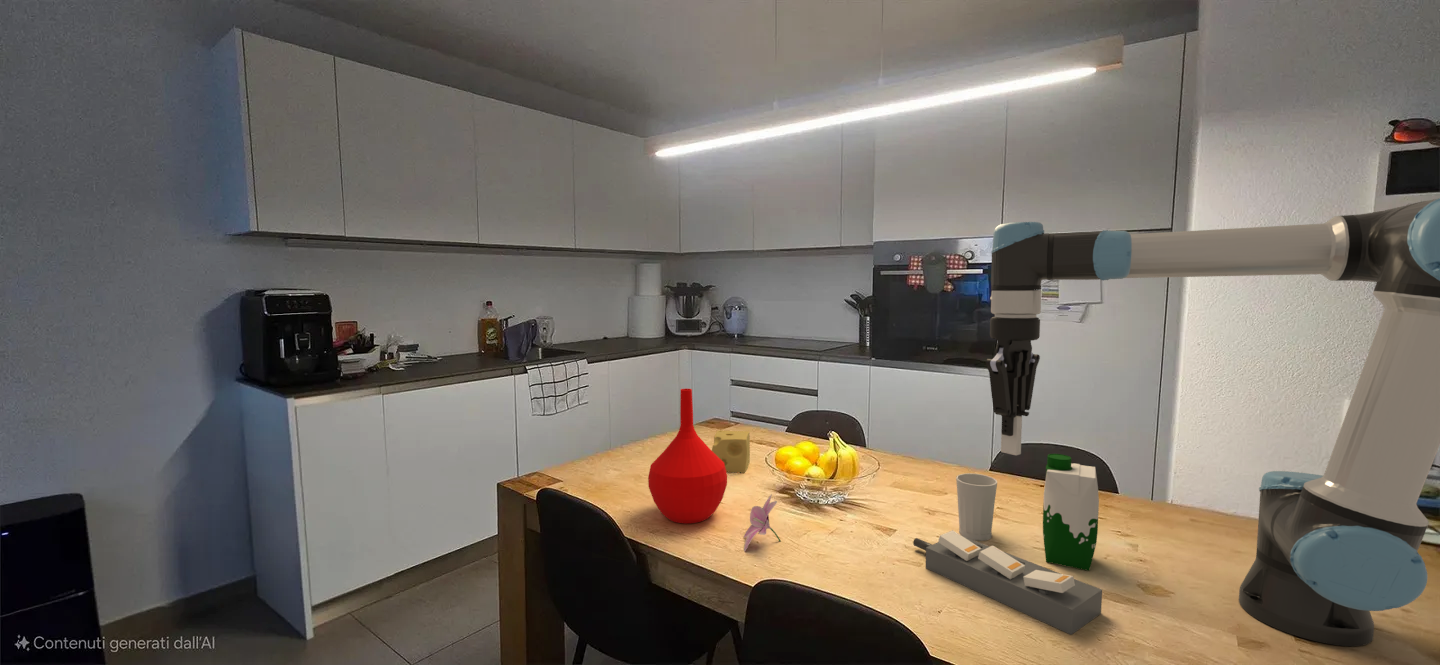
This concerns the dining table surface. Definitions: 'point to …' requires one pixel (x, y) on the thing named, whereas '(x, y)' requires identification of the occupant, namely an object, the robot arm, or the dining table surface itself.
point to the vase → (687, 473)
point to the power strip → (1017, 588)
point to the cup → (976, 505)
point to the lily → (759, 521)
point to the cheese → (733, 449)
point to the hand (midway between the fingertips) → (1010, 452)
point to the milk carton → (1070, 512)
